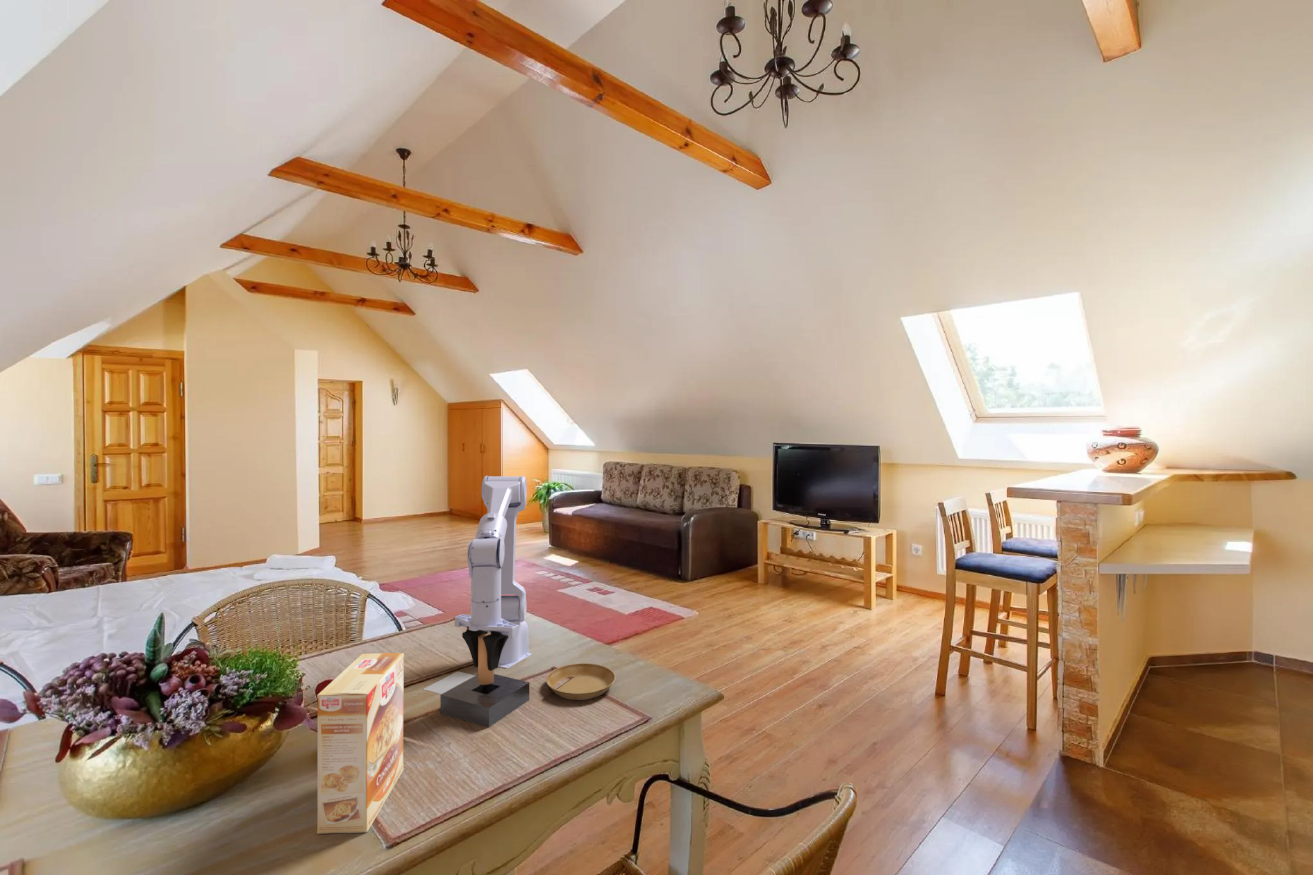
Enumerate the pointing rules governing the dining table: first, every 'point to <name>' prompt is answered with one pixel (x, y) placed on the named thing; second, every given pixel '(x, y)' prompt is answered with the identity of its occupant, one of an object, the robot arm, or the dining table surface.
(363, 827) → the coffeecake box
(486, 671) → the peg
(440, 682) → the mat
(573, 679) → the plant saucer
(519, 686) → the socket block
